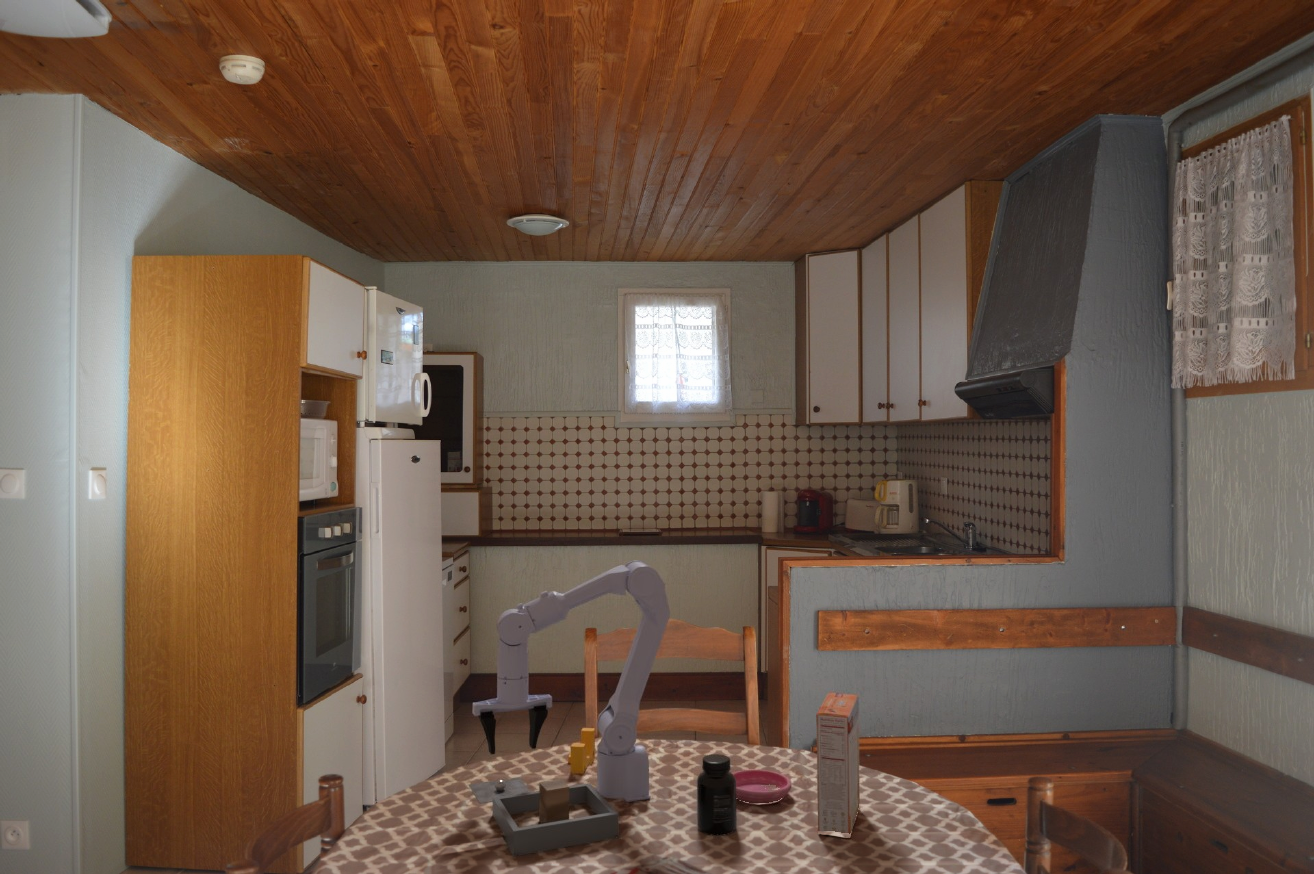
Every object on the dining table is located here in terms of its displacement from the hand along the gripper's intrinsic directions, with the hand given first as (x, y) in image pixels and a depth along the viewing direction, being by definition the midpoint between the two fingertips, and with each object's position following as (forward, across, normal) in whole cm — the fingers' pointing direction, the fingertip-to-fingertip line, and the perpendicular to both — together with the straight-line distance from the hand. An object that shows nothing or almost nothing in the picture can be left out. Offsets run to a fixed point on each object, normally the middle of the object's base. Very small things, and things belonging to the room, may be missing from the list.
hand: (512, 749), depth 163 cm
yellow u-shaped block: (+10, -17, -13) cm, 24 cm away
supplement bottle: (+10, -30, +24) cm, 40 cm away
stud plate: (+10, +1, -5) cm, 11 cm away
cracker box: (+10, -51, +30) cm, 60 cm away
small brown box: (+9, -4, +13) cm, 17 cm away
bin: (+10, -4, +14) cm, 17 cm away
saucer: (+10, -44, +14) cm, 47 cm away
